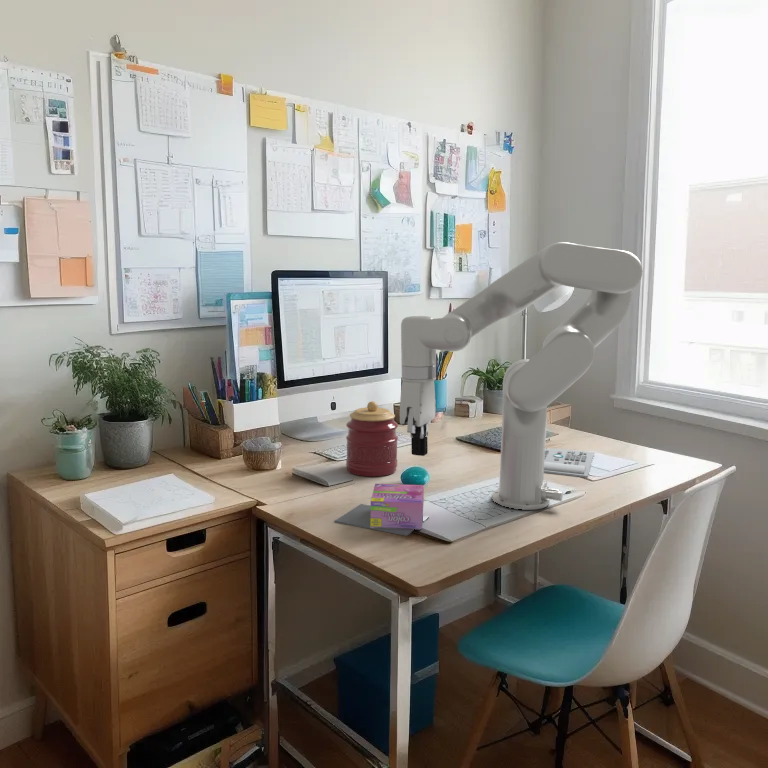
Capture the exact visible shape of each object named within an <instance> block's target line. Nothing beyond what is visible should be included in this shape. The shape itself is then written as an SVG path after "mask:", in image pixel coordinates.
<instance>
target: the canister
mask: <svg viewBox="0 0 768 768" xmlns="http://www.w3.org/2000/svg"><path fill="white" fill-rule="evenodd" d="M395 417H396V415H395V413H393V412H391V411H390V410H389V409H388V408H384V407H378V403H377V402H376V401H372V400H371V401H369V402H368V403H367V405H366V407H360V408H357V409H355V410H354V411H353V412H351V413H349V418H351V419H350V420H349V421H347V422H346V424H345V425H346V427H347V428H348V432H347V433H348V434H347V435H346V437H345V439H346V460H345V463H346V464H345V465H346V470H347V472H349V473H350V474H353V475H356V476H362V477H383V476H388V475H392V474H394V473H395V472H396V471H397V468H398V440H399V437H398V435H397V428H398V427H399V424H398V423H397V422H396V421H395V420H394V418H395Z"/></svg>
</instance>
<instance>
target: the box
mask: <svg viewBox="0 0 768 768" xmlns="http://www.w3.org/2000/svg"><path fill="white" fill-rule="evenodd" d="M424 487H425V486H424V484H397V483H395V484H394V483H375V484H374V487H373V491H372V494H371V499H370V506H371V523H370V528H386V529H415V530H418V531H421V530H420V529H421V528H422V529H423V523H424V522H423V515H424V501H425V500H424V498H425V497H424V496H425V495H424V493H425V491H424V489H425V488H424ZM422 522H423V523H422Z"/></svg>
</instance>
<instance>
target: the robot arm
mask: <svg viewBox="0 0 768 768" xmlns="http://www.w3.org/2000/svg"><path fill="white" fill-rule="evenodd" d="M642 276H643V265H642V263H641V261H640V259H639V258H638V256H636V255H635V254H633V253H632V252H630V251H627V250H621V249H613V248H605V247H599V246H598V247H597V246H591V245H585V244H577V243H574V242H573V243H571V242H566V241H559V242H554V243H551V244H548V245H547V246H545V247H544V248H542V249H540V250H539V251H537V252H536V253H534V254H533V255H532V256H530V257H528V258H527V259H525V260H524V261H523V262H521V263H520V264H518V265H517V266H516V267H514V268H512V269H511V270H510V271H508V272H506V273H504V274H503V275H502V276H500V277H498V278H497V279H496V280H494V281H492V282H491V283H490V284H489V285H488V286H487V287H485V288H484V289H483V290H481V291H480V292H479V293H477V294H475V295H474V296H472V297H471V298H469V299H468V300H466V301H465V302H463V303H462V304H460V305H459V306H457V307H456V308H454V309H453V310H451V311H449V312H448V313H447V314H446V315H444V316H443V317H440V318H439V317H437V318H434V317H432V316H427V315H416V316H415V315H414V316H407V317H404V318H403V319H402V320H401V324H400V339H401V340H400V341H401V351H400V352H401V359H400V360H401V382H402V383H401V389H400V399H399V401H400V402H399V424H400V426H402V427H403V426H406V425H407V426H406V427H407V428H406V433H408V434H410V438H411V441H410V442H411V445H410V446H411V454H412V455H413V456H419V457H422V456H423V457H425V456H426V455H428V451H429V450H428V435H429V426H430V425H431V424H432V421H433V420H434V419H435V418H436V409H437V408H436V391H435V389H436V388H435V386H436V385H435V381H436V380H437V350H439V351H445V352H459V351H462V350H464V349H465V348H466V347H467V346H468V345H469V343H470V341H471V339H472V338H473V337H474V336H476V335H477V334H479V333H480V332H482V331H483V330H485V329H487V328H488V327H491V325H493V324H496V323H497V322H499V321H501V320H503V319H507V318H509V317H513V316H515V315H517V314H520V313H521V312H523V311H524V310H526V309H528V307H531V306H532V305H533V304H534V303H537V302H539V300H541V299H542V298H544V297H545V296H547V295H548V294H551V292H553V291H555V290H556V289H558V288H559V287H561V286H565V287H570V288H576V289H581V290H582V289H583V290H589V291H590V290H591V292H590V294H589V296H588V298H587V299H586V300H585V301H584V303H583V304H581V306H579V307H578V308H577V309H576V310H575V311H574V312H573V313H572V314H570V315H569V317H567V318H565V320H564V321H563V322H561V323H560V325H558V326H557V327H556V328H554V329H553V330H552V331H550V332H549V333H548V334H547V335H546V337H545V339H544V340H543V344H542V348H541V349H540V350H539V351H538V352H536V353H535V354H534V355H533V356H532V357H531V358H530V359H528V358H522V359H519V360H516V361H515V362H513V363H512V364H510V365H509V366H508V367H507V369H506V371H505V373H504V375H503V380H502V419H501V421H502V423H501V439H500V441H501V442H500V463H499V488H498V489H497V490H495V491H493V492H492V493H491V500H492V499H493V500H492V502H493V501H494V502H493V503H495V502H496V503H498V504H500V505H502V506H501V507H503V506H505V507H504V508H506V507H509V508H508V509H511V508H514V509H513V510H518V509H522V510H521V511H534V510H539V509H543V508H546V507H548V506H549V505H550V500H553V501H557V502H562V501H563V496H564V494H563V492H562V491H560V489H558V488H551V487H549V486H548V481H547V480H544V478H545V477H544V475H545V473H544V462H545V448H546V442H547V439H546V438H547V425H548V424H547V422H548V406H549V405H550V404H552V402H553V401H555V400H556V399H557V398H558V397H560V396H561V395H562V394H563V393H564V392H565V391H567V390H568V389H569V388H570V387H572V385H574V383H576V382H577V381H578V380H579V379H581V377H582V376H583V375H585V373H586V372H587V371H589V369H590V367H592V364H593V362H594V361H595V360H594V359H595V355H596V354H595V353H596V351H595V349H596V348H597V347H598V346H599V345H600V344H601V343H602V342H604V341H605V339H607V337H608V336H610V335H611V334H612V333H613V332H614V331H615V330H616V329H617V328H618V327H619V326H620V324H621V323H622V322H623V320H624V319H625V317H626V315H627V314H628V312H629V308H630V305H631V301H632V296H633V295H632V294H633V290H634V289H635V288H636V287H637V286H638V285H639V283H640V281H641V280H642ZM496 503H495V504H496ZM498 504H497V505H498ZM548 504H549V505H548ZM500 505H499V506H500ZM547 505H548V506H547Z"/></svg>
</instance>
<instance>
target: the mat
mask: <svg viewBox="0 0 768 768" xmlns="http://www.w3.org/2000/svg"><path fill="white" fill-rule="evenodd" d="M334 523H338V524H343V525H349V526H354V527H359V528H364V529H367V530H368V529H369V530H375V531H380V532H385V533H390V534H394V535H399V536H406V537H408V536H409V535H410V534H411V533H413V532H414V531H415V530H414V529H386V528H370V523H371V504H370V505H369V504H363V503H360V504H359V505H357V506H355V507H354V508H352V509H351V510H349V511H348V512H346V513H344V514H343V515H341V516H340V517H338V518H336V519H335V520H334Z"/></svg>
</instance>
